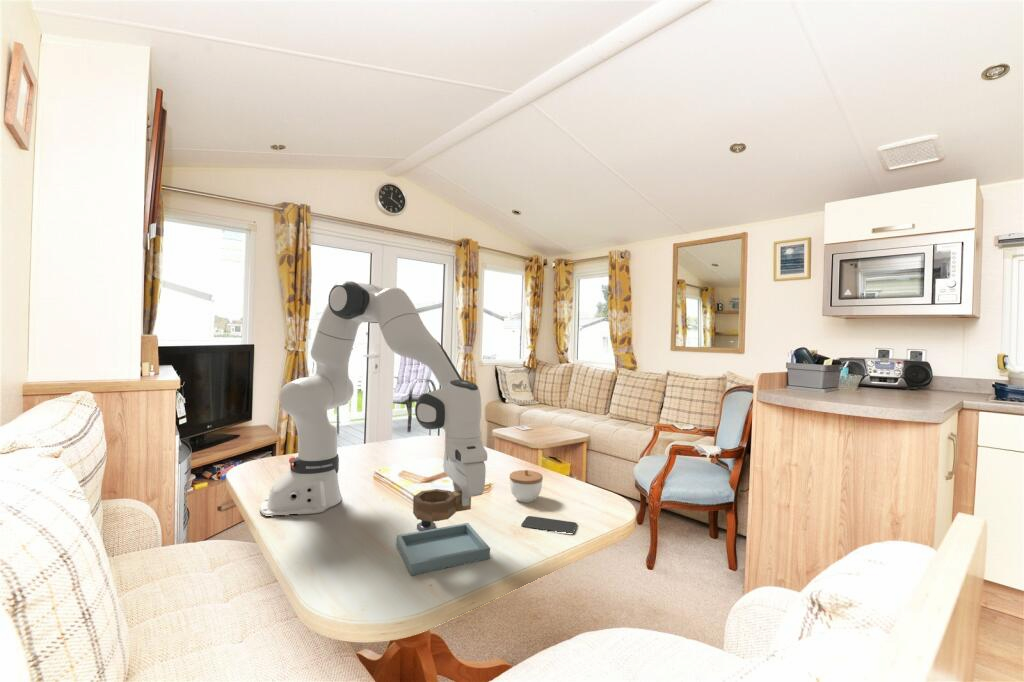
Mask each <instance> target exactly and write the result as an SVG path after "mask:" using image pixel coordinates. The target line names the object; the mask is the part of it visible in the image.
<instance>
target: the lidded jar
mask: <svg viewBox="0 0 1024 682" xmlns="http://www.w3.org/2000/svg"><path fill="white" fill-rule="evenodd" d="M543 478H544V477H543V474H542V473H541V472H537V471H535V470H528V469H519V470H515V471H512V472H511V473H509V488H510V491H511V494H512V495H513V497H514V498H515V499H516V501H518V502H521V503H533V502H534V501H535V499H537V498H538V497H539V495H540V494H541V492H542V488H543Z"/></svg>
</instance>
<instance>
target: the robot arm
mask: <svg viewBox="0 0 1024 682" xmlns="http://www.w3.org/2000/svg"><path fill="white" fill-rule="evenodd" d="M362 323H370V324H378V325H379V329H380V331H381V334H382V336H383V339H384V342H385V343H386V345H387V346H388V348H389V349H390V350H391V351H392V352H394V353H395V354H396V355H398V356H401V357H404V358H408V359H411V360H414V361H417V362H420V363H421V364H423V365H425V366H426V367H428V369H430V371H431V372H432V374H433V375H434V376H435V379H436V381H437V382H438V384H439V385H440V387H441V388H438V389H434V390H433V391H429V392H426V393H425V392H424V393H423V394H421V395H420V396H419V397H418V399H417V400H416V402H415V406H414V407H415V408H414V412H415V413H414V415H415V418H416V420H417V423H418V424H419V425H420V426H421V427H422V428H424V429H425V430H437V429H443V430H444V432H445V433H444V450H443V452H444V454H443V472H444V474H446V476H447V477H448V478H449V479H451V481H452V486H453V490H454V491H459V490H462V497H460V500H461V501H460V503H461V504H462V505H463V506H468V505H469V498H470V497H471V498H472V497H478V496H482V495H483V493H484V492H485V489H486V488H485V486H486V463H485V462H486V461H488V452H487V450H486V449H485V446H484V445H483V442H482V440H481V439H482V438H481V437H482V434H481V433H482V432H481V429H480V422H481V419H482V397H481V391H480V388H479V386H478V385H477V384H476V383H474V382H472V381H469V380H463V379H462V376H461V375H460V374H459V372H458V370H457V368H456V366H455V365H454V363H453V362H452V360H451V357H450V356H449V355H448V353H447V352H446V350H445V349H444V347H443V346H442V345H441V343H440V342H439V341H438V340H437V339H436V338H435V337H434V335H432V334H431V333H430V331H429V330H428V329H427V327H426V325H425V324H424V323H423V320H422V319H421V316H420V314H419V313H418V310H417V309H416V306H415V305H414V303H413V302H412V300H411V298H410V297H409V296H408V294H407V292H405V290H403V289H401V288H399V287H393V286H392V287H388V288H385V287H381V286H378V285H375V284H371V283H362V282H356V281H355V282H354V281H340V282H337V283H336V284H334V286H333V287H332V288H330V291H329V294H328V303H327V304H326V307H325V308H324V311H323V312H322V315H321V317H320V320H319V322H318V325H317V328H316V332H315V336H314V339H313V342H312V346H311V349H310V356H311V358H312V360H314V362H315V364H316V371H315V374H314V375H313V376H306V377H298V378H297V379H294V380H292V381H289V382H287V383H286V384H284V385H283V387H282V388H281V389H280V391H279V396H278V399H279V404H280V407H281V409H282V410H283V411H284V412H285V413H286V414H288V415H289V416H290V417H291V418H292V421H294V422H293V423H294V425H295V427H296V428H295V429H296V432H297V456H294V455H292V456H290V457H289V458H288V463H289V465H290V467H289V469H290V470H289V471H287V472H286V473H285V474H284V475H283V476H281V477H280V478H278V480H276V481H275V482H274V483H273V484H272V486H271V488H270V490H269V494H268V497H266V498H265V499H264V500H263V501H261V503H260V505H259V512H260V511H261V513H262V514H264V515H285V516H290V515H289V514H298V515H310V514H321V513H323V512H325V511H326V510H327V509H329V508H332V507H334V506H336V505H338V504H339V503H340V502H342V499H343V497H342V494H341V490H340V484H339V476H338V475H339V469H340V467H339V466H340V457H339V454H338V429H337V428H336V426H334V425H332V424H331V423H330V421H329V418H328V417H329V416H328V410H331V409H336V408H338V407H341V406H343V405H344V404H346V403H348V402H349V401H350V400H351V399H352V397H353V395H354V391H355V390H354V385H353V384H354V383H353V382H352V380H351V379H350V377H349V362H350V358H351V355H352V354H351V353H352V351H353V347H354V345H355V344H354V343H355V340H356V336H357V333H358V329H359V327H360V325H361V324H362ZM261 513H260V514H261ZM262 514H261V515H262ZM287 514H288V515H287Z"/></svg>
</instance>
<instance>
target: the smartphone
mask: <svg viewBox="0 0 1024 682" xmlns="http://www.w3.org/2000/svg"><path fill="white" fill-rule="evenodd" d="M576 526H577V527H578V523H577V522H574V521H567V520H561V519H554V518H547V517H542V516H541V517H540V516H532V515H527V516H526V517H525V519H524V520H523V521H522V522H521V526H520V527H522V528H525V529H526V528H527V529H534V530H537V529H538V531H543V530H547V531H546V532H549V531H557V532H566V533H573V532H574V530H575V528H576ZM576 529H577V528H576ZM575 531H576V530H575Z"/></svg>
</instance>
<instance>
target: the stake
mask: <svg viewBox="0 0 1024 682" xmlns="http://www.w3.org/2000/svg"><path fill="white" fill-rule="evenodd" d="M416 529H417V530H418V532H419V531H425V530H430V529H436V523H435V521H434V522H430V521H424V520H420V522H418V523H417V524H416Z"/></svg>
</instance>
